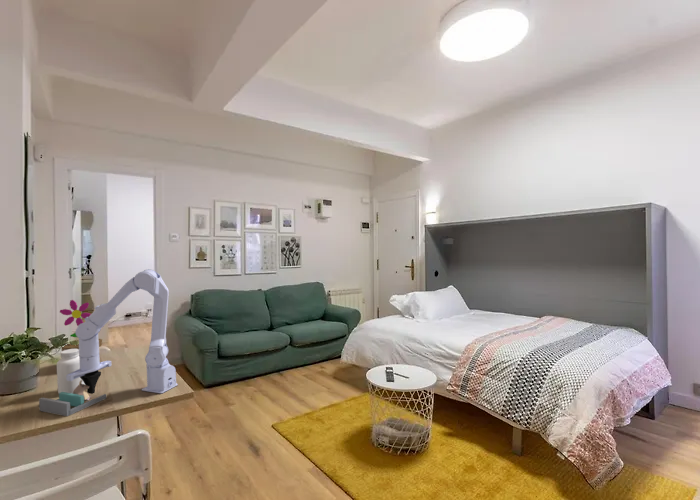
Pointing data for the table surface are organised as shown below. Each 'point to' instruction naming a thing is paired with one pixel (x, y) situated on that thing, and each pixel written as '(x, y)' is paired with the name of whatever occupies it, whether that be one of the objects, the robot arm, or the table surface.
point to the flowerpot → (79, 321)
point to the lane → (64, 405)
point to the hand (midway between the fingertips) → (91, 393)
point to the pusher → (71, 398)
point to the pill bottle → (68, 370)
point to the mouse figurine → (82, 390)
